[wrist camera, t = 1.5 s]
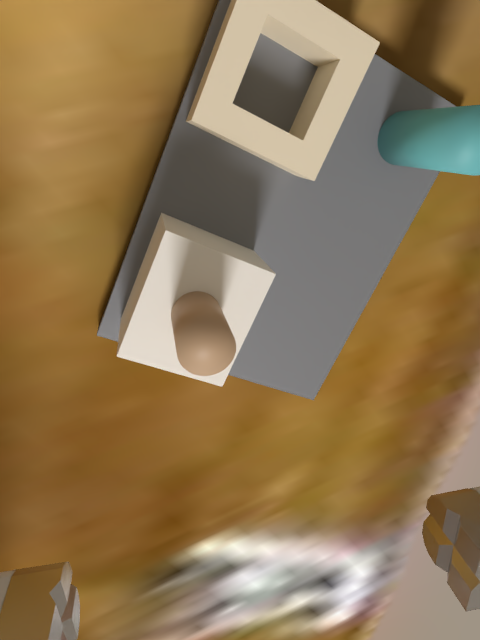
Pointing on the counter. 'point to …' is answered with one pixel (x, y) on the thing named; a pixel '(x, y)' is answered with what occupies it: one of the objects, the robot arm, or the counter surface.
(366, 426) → the counter surface
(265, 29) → the board
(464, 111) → the pin
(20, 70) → the counter surface
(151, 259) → the cover
